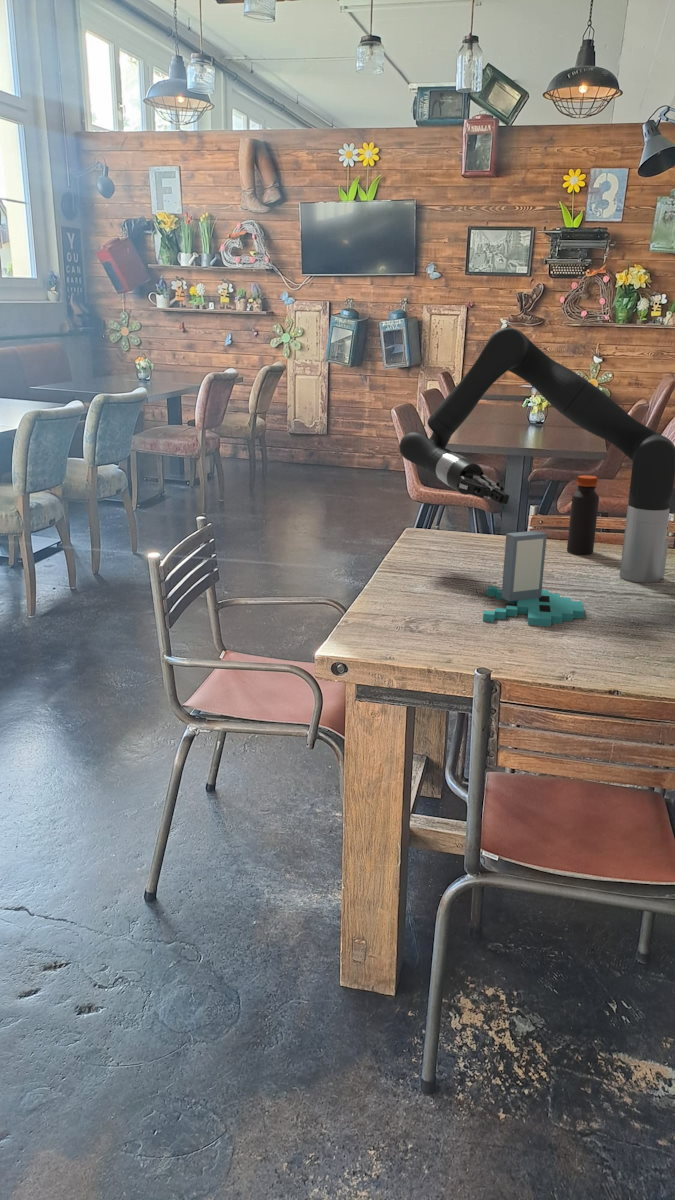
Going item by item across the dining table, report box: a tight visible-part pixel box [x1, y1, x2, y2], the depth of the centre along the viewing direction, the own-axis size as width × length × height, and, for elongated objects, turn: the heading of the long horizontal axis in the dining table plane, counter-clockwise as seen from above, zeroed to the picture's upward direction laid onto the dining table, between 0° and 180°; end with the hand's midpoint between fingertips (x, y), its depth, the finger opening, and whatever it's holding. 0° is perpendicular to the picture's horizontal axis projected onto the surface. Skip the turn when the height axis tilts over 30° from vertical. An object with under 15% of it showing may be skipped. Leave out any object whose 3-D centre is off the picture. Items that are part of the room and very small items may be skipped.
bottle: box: [566, 474, 600, 556], centre depth 223 cm, size 7×7×20 cm
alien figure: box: [482, 585, 585, 627], centre depth 179 cm, size 20×2×20 cm
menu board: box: [501, 530, 548, 602], centre depth 180 cm, size 8×3×14 cm, turn 112°
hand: (505, 500), depth 186 cm, fingers closed
